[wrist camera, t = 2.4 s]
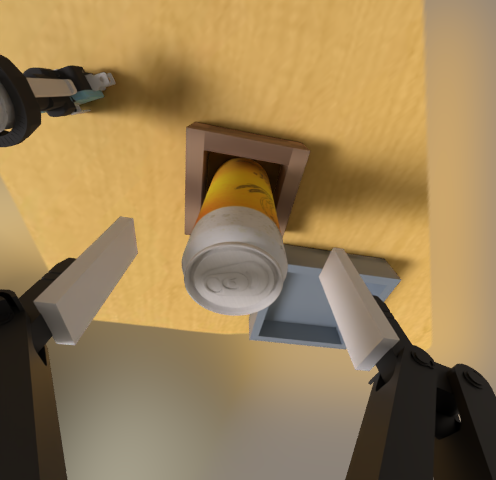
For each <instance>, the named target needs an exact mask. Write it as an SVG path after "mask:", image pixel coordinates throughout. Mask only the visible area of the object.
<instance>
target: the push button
mask: <svg viewBox="0 0 496 480" xmlns="http://www.w3.org/2000/svg"><path fill="white" fill-rule="evenodd" d="M108 77H109V78H110V81H109V79H108ZM114 84H116V82H115V80H114V78H113V76H112V74H111V73H107V74H106V73H105V72H102V73H99V74H96V75H93V73H85V71H84V69H83V67H79V66H67V67H64V68H61V69H56V70H51V69H45V68H30V69H28V70H26V71H25V72H24V73H23V74H22V73H21V72H20V70H19V69H18V68H17V67H16V66H15V65H14V64H13V63H12V62H11V61H10V60H9V59H8V58H6V57H4V56H2V55H0V147H9V146H13V145H17V144H19V143H21V142H23V141H24V140H25V139H26V138H28V137H29V136H30V135H31V134H32V133H33V132H34V131H35V130H36V129H37V128H38V127H39V126H40V124H41V113H45V112H47V113H48V115H49V116H51V117H60V116H66V115H70V114H71V115H73V114H74V115H75V114H81V113H85V112H88V111H91V109H90V110H83V111H82V110H81V108H80V106H79V105H81V104H84V103H87V102H90V101H93V100H96V99H99V98H103V97H104V95H103V93H102V91H103V90H106V89H105V87H108V86H111V85H114ZM10 128H13V129H12V130H11V131H10V132H9V131H5V130H4V129H10Z"/></svg>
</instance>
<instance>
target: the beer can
mask: <svg viewBox="0 0 496 480" xmlns="http://www.w3.org/2000/svg"><path fill="white" fill-rule="evenodd" d="M182 270H183V274H184V283H185V287H186V289H187V291H188V293H189V295H190V296H191V297H192V299H193V300H194V301H195V302H197V303H198V304H199V305H201V306H202V307H204V308H206V309H208V310H210V311H213V312H216V313H219V314H224V315H247V314H252V313H255V312H258V311H261V310H263V309H265V308H266V307H268V306H269V305H271V304H272V303H273V302H274V301H275V300H276V299H277V298H278V296H279V295H280V293H281V291H282V288H283V282H284V280H285V278H286V275H287V270H288V262H287V257H286V253H285V248H284V244H283V239H282V235H281V231H280V226H279V222H278V217H277V213H276V209H275V204H274V200H273V195H272V191H271V187H270V182H269V178H268V175H267V173H266V172H265V170H264V169H263V168H262V166H261V165H259V164H258V163H257V162H255V161H253V160H250V159H247V158H234V159H231V160H228V161H226V162H225V163H223V164H222V165H221V166H220V167H219V168H218V169H217V171H216V173H215V175H214V177H213V180H212V182H211V185H210V187H209V190H208V192H207V195H206V198H205V200H204V203H203V205H202V208H201V210H200V213H199V215H198V218H197V220H196V223H195V225H194V228H193V230H192V233H191V236H190V238H189V241H188V243H187V246H186V248H185V251H184V253H183V257H182Z"/></svg>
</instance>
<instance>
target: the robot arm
mask: <svg viewBox="0 0 496 480" xmlns="http://www.w3.org/2000/svg"><path fill="white" fill-rule="evenodd" d="M137 254H138V251H137V244H136V236H135V228H134V221H133V218H127V217H121V216H120V217H119V218H118V219H117V220H116V221H115V222H114V223H113V224H112V225H111V226H110V227H109V228H108V229H107V230H106V231H105V232H104V233H103V234H102V235H101V236H100V237H99V238H98V239H97V240H96V241H95V242H94V243H93V244H92V245H91V246H90V247H89V248H87V249H86V250H85V251H84V252H83V253H82V254H81V255H80V256H79V257H78V258H77V259H75V258H67V259H66V260H64V261H62V262H60V263H58V264H56V265H55V266H54V267H53V268H52V269H51V270H50V271H49V272H48V273H47V274H45V275H44V276H43V277H42V279H41V280H39V281H38V282H36V283H35V284H34V285H33V286H32V287H31V288H30V289H29V290H27V291H26V292H25V293H24V294H23V295H22V296H21V297H20V298H19V299H18V297H17V296H16V294H15V292H13V291H11V290H0V480H67V474H66V467H65V461H64V454H63V447H62V440H61V434H60V427H59V421H58V415H57V407H56V400H55V394H54V387H53V380H52V374H51V368H50V361H49V354H48V348H47V346H46V343H47V341H48V340H49V339H50V338H51V337H52V336H53V338H54V340H55V342H56V343H57V344H68V345H76V343H77V341H78V340H79V339H80V337H81V336H82V334H83V333H84V331H85V330H86V328H87V327H88V325H89V324H90V323H91V321H92V320H93V318H94V317H95V315H96V314H97V312H98V311H99V309H100V308H101V306H102V305H103V303H104V302H105V301H106V299H107V298H108V296H109V295H110V293H111V292H112V290H113V289H114V287H115V286H116V284H117V283H118V281H119V280H120V279H121V277H122V276H123V274H124V273H125V271H126V270H127V268H128V267H129V265H130V264H131V262H132V261H133V259H134V258H135V257H136V255H137ZM319 279H320V281H321V284H322V286H323V289H324V291H325V294H326V297H327V299H328V302H329V304H330V307H331V309H332V312H333V314H334V317H335V319H336V322H337V325H338V327H339V330H340V332H341V335H342V337H343V340H344V342H345V345H346V348H347V350H348V353H349V355H350V358H351V360H352V363H353V365H354V368H355V370H365V371H370V370H371V369H372V367H374V366H375V365H376V366H377V368H378V371H379V372H378V373H377V374H376V375H375V376H374V377H373V378H372V379H371V380H370V381H369V384H370V385H371V384H372V383H373V382H374V383H373V387H372V390H371V394H370V397H369V401H368V404H367V407H366V411H365V414H364V418H363V421H362V424H361V428H360V431H359V435H358V438H357V441H356V445H355V448H354V452H353V455H352V459H351V462H350V465H349V469H348V472H347V476H346V479H345V480H433V478H434V480H496V396H495V394H494V392H493V390H492V388H491V386H490V385H489V383H488V382H487V380H485V378H484V377H483V376H482V375H481V374H480V373H478V372H477V371H476V370H474V369H472V368H471V367H469V366H467V365H464V364H456V365H455V366H454V367H453V368H449V367H446V366H443V365H441V364H438V363H436V362H434V360H433V359H432V358H431V357H430V355H429V354H428V353H426V352H425V351H424V350H423V349H421V348H419V347H417V346H415V345H412V344H411V342H410V341H409V339H408V338H407V336H406V335H405V333H404V332H403V330H402V329H401V327H400V325H399V324H398V322H397V321H396V320H395V319H394V316H393V315H392V313H390V310H389V309H388V307H387V306H386V304H385V303H384V302H383V301H382V300H381V299H380V298H379V297H378V296H375V295H372V294H371V292H370V291H369V289H368V288H367V286H366V284H365V283H364V281H363V280H362V278H361V276H360V275H359V273H358V272H357V270H356V268H355V267H354V265H353V263H352V262H351V260H350V259H349V257H348V255H347V254H346V252H345V251H344V249H340V248H333V249H332V251H331V253H330V255H329V257H328V259H327V261H326V263H325V265H324V267H323V269H322V271H321V273H320V275H319ZM458 414H459V415H460V418H461V422H460V420H459V417H458Z"/></svg>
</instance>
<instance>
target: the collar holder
mask: <svg viewBox="0 0 496 480" xmlns="http://www.w3.org/2000/svg"><path fill="white" fill-rule="evenodd" d="M209 151H212V152H217V153H223V154H228V155H234V156H239V157H245V158H250V159H256V160H261V161H267V162H272V163H277V164H281V167H280V171H279V175H278V178H277V182H276V186H275V190H274V194H273V200H274V204H275V209H276V213H277V217H278V222H279V226H280V231H281V235H282V238H283V235H284V232H285V229H286V225H287V222H288V219H289V216H290V213H291V210H292V207H293V204H294V200H295V197H296V194H297V191H298V188H299V185H300V182H301V179H302V176H303V172H304V169H305V166H306V163H307V160H308V157H309V154H310V150H309V149H308V148H307V147H306V146H305V145H304V144H303V143H300V142H295V141H290V140H285V139H280V138H275V137H269V136H264V135H259V134H254V133H249V132H244V131H239V130H233V129H228V128H223V127H218V126H213V125H208V124H203V123H198V122H194V123H193V124H191V125H189V126H188V127H186V180H185V234H186V235H191V233H192V230H193V228H194V225H195V223H196V220H197V218H198V215H199V213H200V210H201V208H202V205H203V203H204V200H205V198H206V187H207V173H208V159H209Z"/></svg>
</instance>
